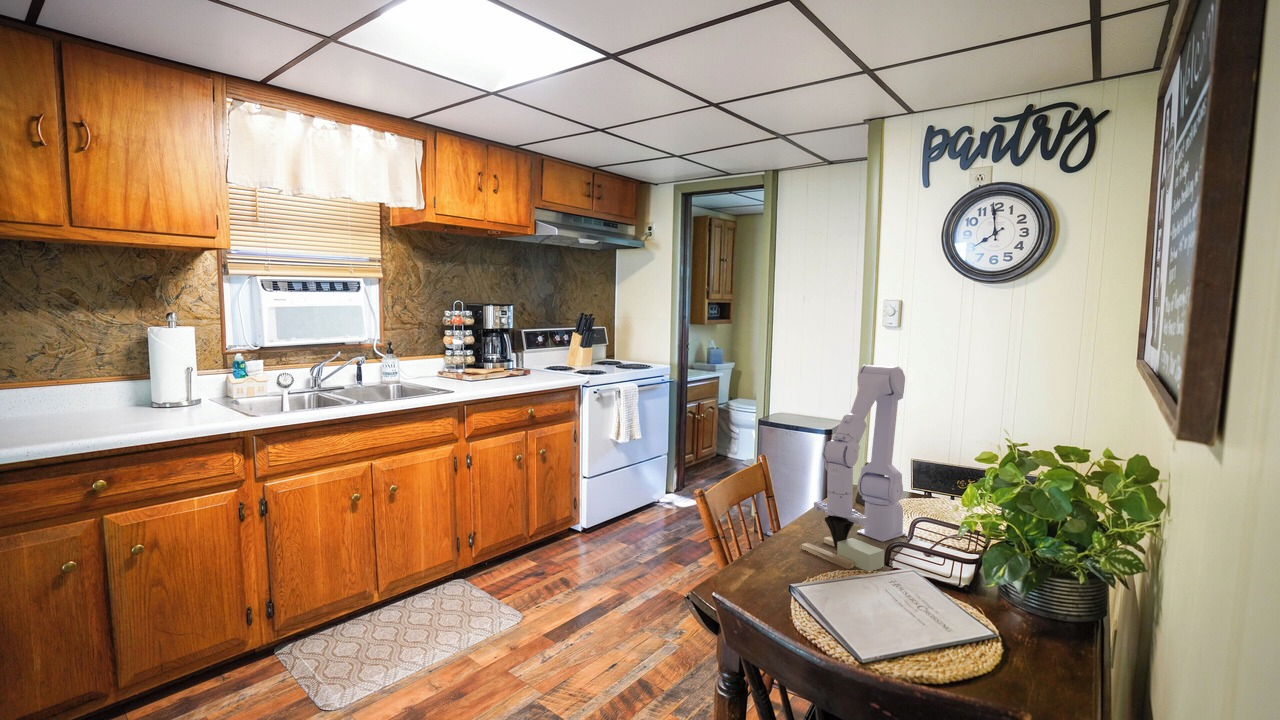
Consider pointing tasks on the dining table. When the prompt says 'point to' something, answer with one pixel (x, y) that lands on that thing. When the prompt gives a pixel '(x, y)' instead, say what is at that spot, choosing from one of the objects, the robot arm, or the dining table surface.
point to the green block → (861, 554)
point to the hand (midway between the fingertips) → (839, 547)
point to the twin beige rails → (828, 553)
